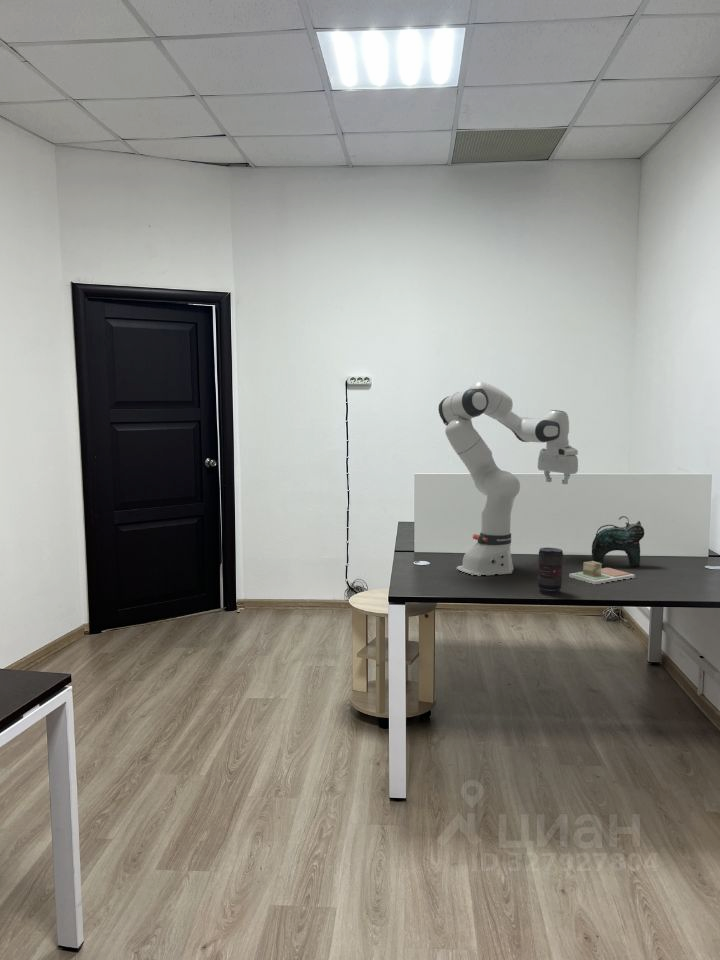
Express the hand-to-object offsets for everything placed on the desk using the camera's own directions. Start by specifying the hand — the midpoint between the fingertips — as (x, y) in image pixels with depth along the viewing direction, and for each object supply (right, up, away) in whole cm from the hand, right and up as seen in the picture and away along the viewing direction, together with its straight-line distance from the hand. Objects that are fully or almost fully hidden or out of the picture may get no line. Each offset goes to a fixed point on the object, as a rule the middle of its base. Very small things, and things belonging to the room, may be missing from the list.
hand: (556, 483), depth 301 cm
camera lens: (-16, -38, -51) cm, 65 cm away
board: (+8, -35, -31) cm, 47 cm away
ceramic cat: (+20, -33, -13) cm, 41 cm away
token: (+4, -34, -33) cm, 47 cm away
